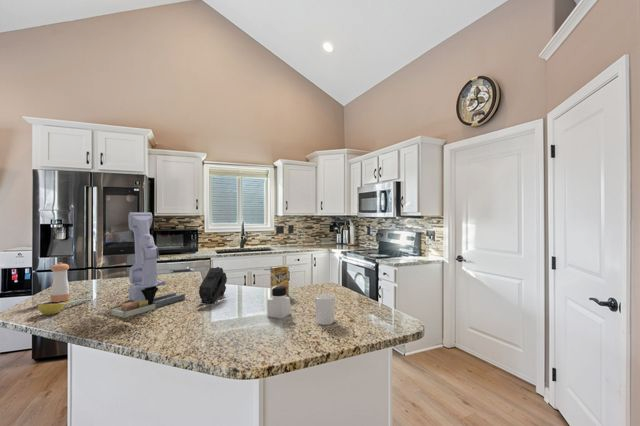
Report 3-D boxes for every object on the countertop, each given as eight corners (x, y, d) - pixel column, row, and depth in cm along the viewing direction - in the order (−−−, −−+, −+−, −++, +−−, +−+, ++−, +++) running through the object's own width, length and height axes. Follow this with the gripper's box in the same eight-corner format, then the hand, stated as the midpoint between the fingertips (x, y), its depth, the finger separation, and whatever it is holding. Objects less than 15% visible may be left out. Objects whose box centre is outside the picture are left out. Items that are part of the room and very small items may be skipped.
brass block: (133, 310, 133) (133, 301, 133) (142, 308, 137) (142, 299, 137) (139, 311, 131) (139, 302, 131) (148, 308, 135) (148, 299, 135)
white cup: (320, 327, 114) (320, 300, 114) (311, 320, 121) (311, 295, 121) (338, 323, 118) (338, 297, 118) (328, 317, 125) (328, 293, 125)
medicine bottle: (290, 313, 129) (290, 285, 129) (281, 319, 123) (281, 289, 123) (276, 311, 132) (276, 284, 132) (266, 316, 126) (266, 287, 126)
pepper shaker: (61, 302, 148) (61, 263, 148) (46, 302, 148) (46, 263, 149) (73, 298, 156) (73, 261, 156) (59, 298, 156) (59, 261, 156)
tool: (230, 288, 163) (224, 264, 155) (215, 318, 145) (207, 293, 137) (218, 287, 164) (211, 263, 156) (202, 318, 146) (193, 293, 138)
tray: (110, 316, 127) (110, 309, 127) (141, 308, 139) (141, 301, 139) (124, 320, 123) (124, 312, 123) (155, 310, 135) (155, 303, 135)
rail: (141, 307, 139) (141, 300, 139) (172, 299, 154) (172, 292, 154) (156, 310, 135) (156, 302, 135) (186, 301, 149) (186, 294, 149)
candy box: (273, 298, 154) (273, 267, 154) (270, 296, 158) (270, 266, 158) (289, 295, 159) (288, 266, 159) (285, 293, 163) (285, 265, 163)
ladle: (30, 316, 126) (32, 302, 127) (80, 311, 152) (82, 299, 153) (50, 315, 126) (53, 301, 127) (98, 310, 152) (99, 298, 153)
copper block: (121, 313, 129) (121, 304, 129) (131, 310, 133) (130, 301, 132) (127, 315, 127) (126, 305, 127) (136, 312, 131) (136, 302, 131)
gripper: (139, 277, 129) (139, 309, 129) (169, 271, 142) (169, 301, 142) (129, 276, 132) (129, 307, 132) (159, 270, 145) (159, 299, 145)
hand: (149, 304), depth 137 cm, fingers closed
